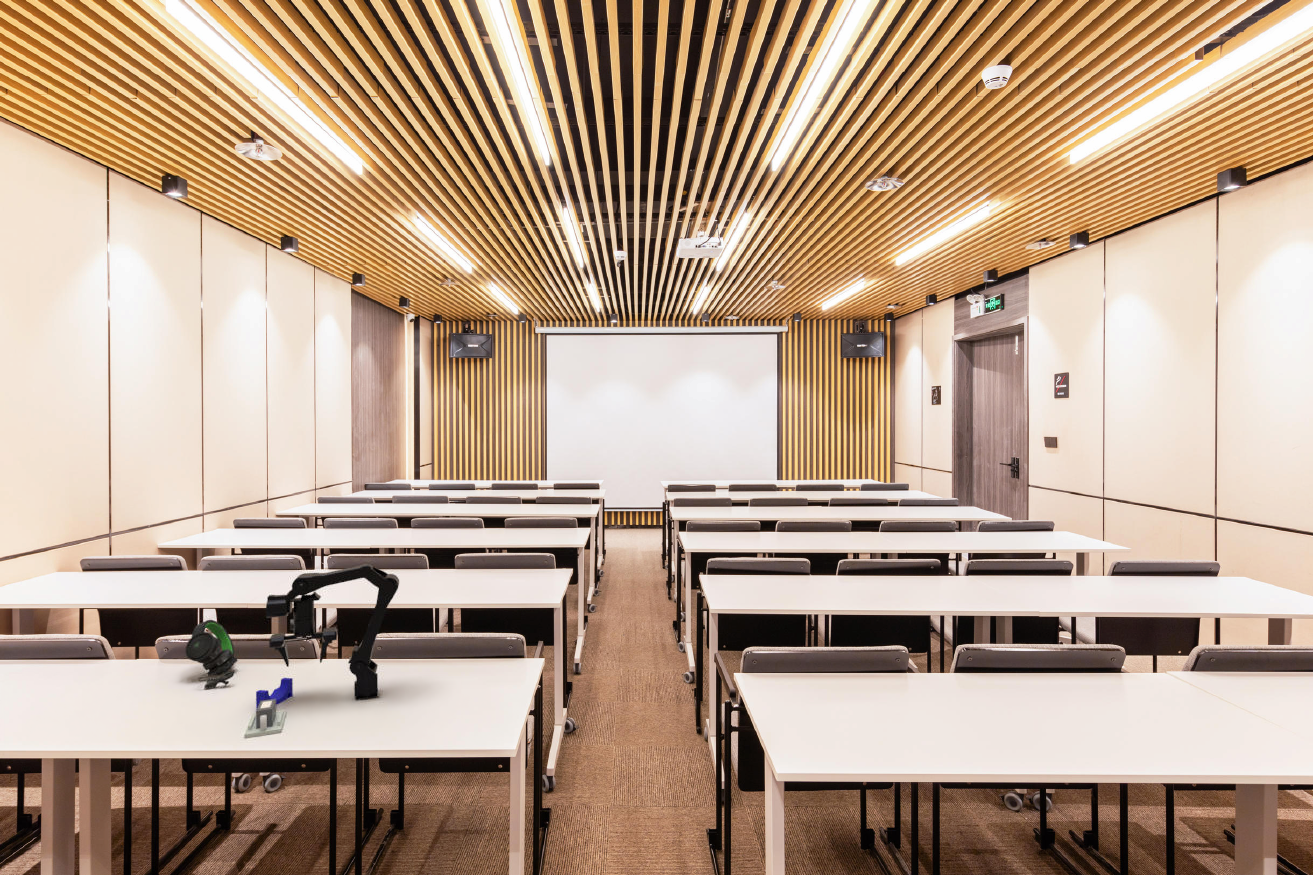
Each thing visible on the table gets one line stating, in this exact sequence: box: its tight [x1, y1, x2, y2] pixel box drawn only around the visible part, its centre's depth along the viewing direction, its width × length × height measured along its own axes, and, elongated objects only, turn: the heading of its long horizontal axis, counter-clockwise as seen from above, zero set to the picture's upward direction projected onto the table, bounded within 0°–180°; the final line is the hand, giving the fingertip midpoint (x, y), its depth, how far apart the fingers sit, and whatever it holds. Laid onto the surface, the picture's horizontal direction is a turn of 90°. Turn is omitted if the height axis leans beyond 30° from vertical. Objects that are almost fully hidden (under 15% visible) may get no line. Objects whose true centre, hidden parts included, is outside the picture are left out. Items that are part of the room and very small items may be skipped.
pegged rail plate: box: [243, 709, 287, 739], centre depth 200 cm, size 9×14×5 cm, turn 23°
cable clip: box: [255, 677, 294, 711], centre depth 217 cm, size 12×4×6 cm, turn 169°
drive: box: [255, 699, 277, 729], centre depth 200 cm, size 4×8×5 cm, turn 22°
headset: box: [184, 619, 239, 689], centre depth 240 cm, size 18×14×29 cm
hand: (304, 664), depth 217 cm, fingers open, 9 cm apart
